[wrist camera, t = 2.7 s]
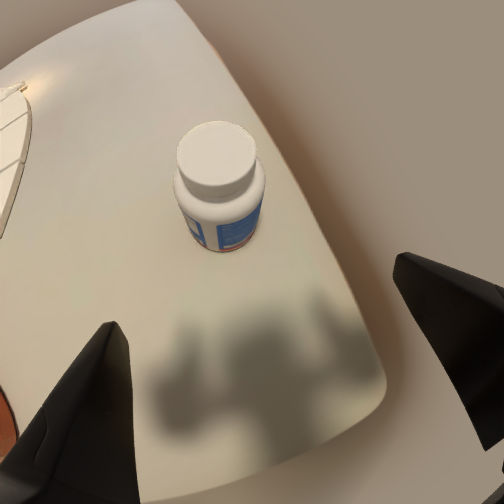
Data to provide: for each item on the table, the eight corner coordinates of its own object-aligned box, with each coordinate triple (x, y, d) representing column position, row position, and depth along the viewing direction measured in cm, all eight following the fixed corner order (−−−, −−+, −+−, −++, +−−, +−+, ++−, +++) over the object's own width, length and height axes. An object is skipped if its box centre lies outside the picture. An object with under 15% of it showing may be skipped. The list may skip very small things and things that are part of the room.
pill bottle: (261, 196, 23) (281, 121, 14) (249, 259, 22) (265, 211, 12) (197, 184, 23) (182, 105, 14) (180, 245, 22) (148, 189, 12)
